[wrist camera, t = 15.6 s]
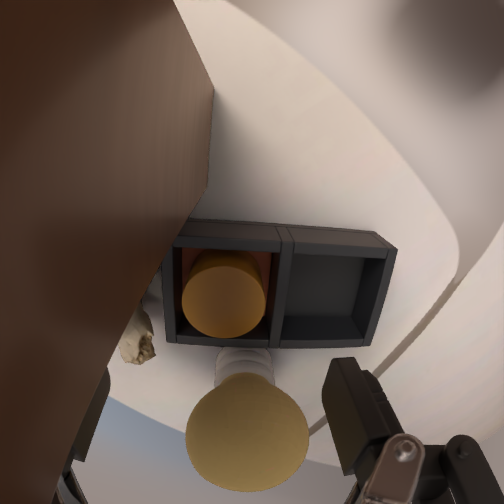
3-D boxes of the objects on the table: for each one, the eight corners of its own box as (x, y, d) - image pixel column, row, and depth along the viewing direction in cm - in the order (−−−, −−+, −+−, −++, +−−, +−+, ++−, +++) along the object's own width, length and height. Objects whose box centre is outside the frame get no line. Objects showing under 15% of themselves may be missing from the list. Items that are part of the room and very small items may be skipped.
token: (190, 306, 18) (183, 336, 15) (189, 241, 16) (180, 263, 13) (257, 309, 18) (261, 340, 15) (264, 246, 16) (269, 268, 14)
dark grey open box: (175, 313, 19) (166, 342, 16) (173, 217, 16) (159, 234, 14) (354, 319, 19) (370, 346, 17) (374, 231, 17) (398, 249, 14)
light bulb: (187, 375, 21) (169, 495, 11) (213, 306, 19) (198, 444, 9) (267, 395, 22) (282, 509, 12) (305, 333, 20) (345, 460, 10)
